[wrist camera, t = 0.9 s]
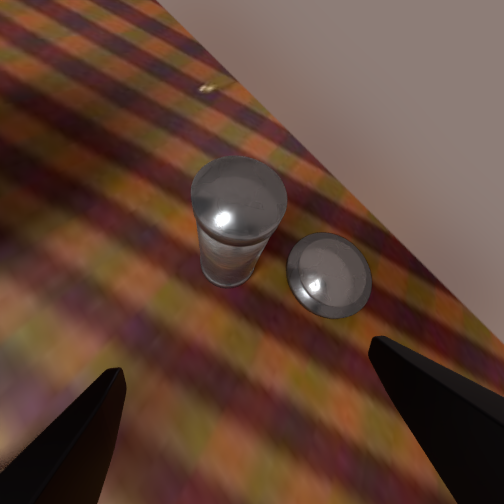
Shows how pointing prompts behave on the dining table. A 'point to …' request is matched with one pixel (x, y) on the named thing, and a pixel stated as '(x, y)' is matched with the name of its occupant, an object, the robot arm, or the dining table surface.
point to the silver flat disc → (328, 275)
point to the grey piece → (235, 216)
